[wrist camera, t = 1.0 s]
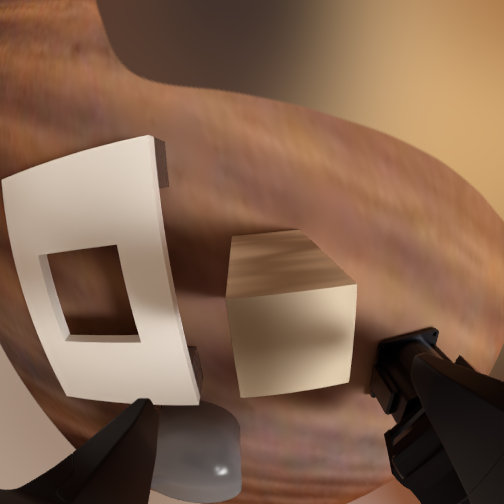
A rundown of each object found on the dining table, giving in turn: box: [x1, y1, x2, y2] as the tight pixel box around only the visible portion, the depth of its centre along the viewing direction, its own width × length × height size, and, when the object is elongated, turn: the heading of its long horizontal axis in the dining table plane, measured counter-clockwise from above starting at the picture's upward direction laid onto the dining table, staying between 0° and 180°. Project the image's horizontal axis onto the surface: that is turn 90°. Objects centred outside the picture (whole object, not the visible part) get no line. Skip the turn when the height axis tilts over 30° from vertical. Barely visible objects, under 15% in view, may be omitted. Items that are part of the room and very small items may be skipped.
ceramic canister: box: [151, 401, 241, 503], centre depth 20 cm, size 8×8×7 cm
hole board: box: [2, 135, 203, 405], centre depth 18 cm, size 12×18×4 cm, turn 5°
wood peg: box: [225, 230, 357, 398], centre depth 15 cm, size 4×4×10 cm
